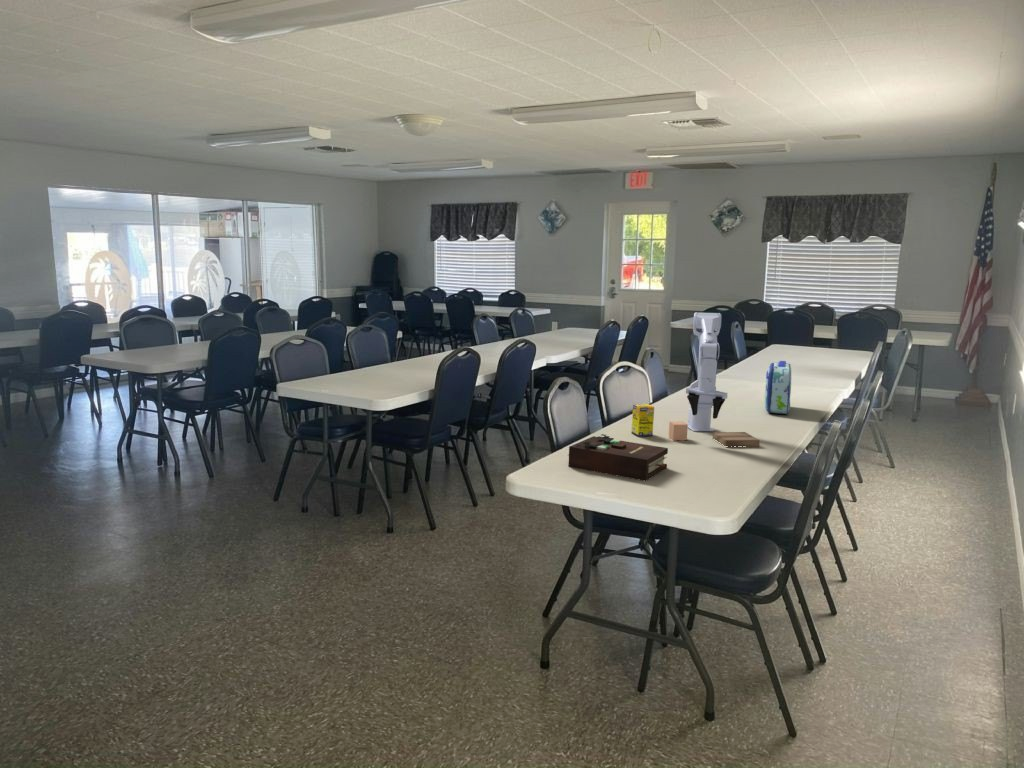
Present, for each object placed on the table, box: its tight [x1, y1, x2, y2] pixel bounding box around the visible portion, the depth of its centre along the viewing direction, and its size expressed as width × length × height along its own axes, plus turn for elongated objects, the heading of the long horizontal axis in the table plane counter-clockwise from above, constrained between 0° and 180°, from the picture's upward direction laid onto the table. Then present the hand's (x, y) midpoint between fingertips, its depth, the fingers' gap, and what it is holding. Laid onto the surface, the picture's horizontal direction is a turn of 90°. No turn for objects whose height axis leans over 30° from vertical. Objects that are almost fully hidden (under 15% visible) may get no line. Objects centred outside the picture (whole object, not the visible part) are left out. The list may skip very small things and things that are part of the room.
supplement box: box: [631, 403, 655, 438], centre depth 274 cm, size 6×6×11 cm
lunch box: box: [764, 360, 792, 415], centre depth 324 cm, size 26×11×21 cm, turn 160°
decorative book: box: [567, 433, 669, 482], centre depth 231 cm, size 19×8×30 cm
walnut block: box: [712, 431, 760, 448], centre depth 266 cm, size 12×12×3 cm
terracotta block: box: [668, 420, 689, 442], centre depth 269 cm, size 5×5×6 cm
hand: (704, 416), depth 263 cm, fingers open, 7 cm apart
